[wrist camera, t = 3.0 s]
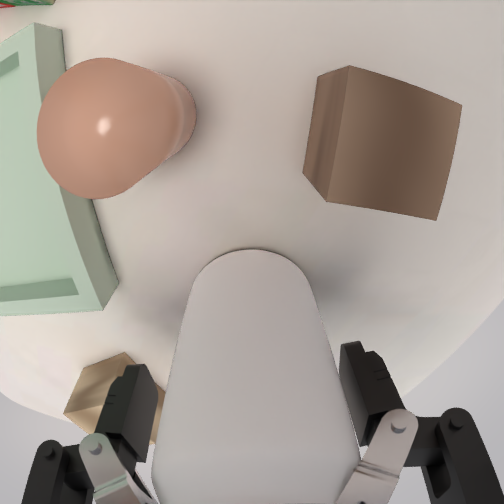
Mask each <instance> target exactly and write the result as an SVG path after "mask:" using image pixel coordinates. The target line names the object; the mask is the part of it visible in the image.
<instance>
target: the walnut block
mask: <svg viewBox="0 0 504 504" xmlns="http://www.w3.org/2000/svg"><path fill="white" fill-rule="evenodd" d="M461 110H462V105H461V104H459V103H456V102H454V101H452V100H449V99H447V98H445V97H442V96H440V95H438V94H435V93H433V92H430V91H427V90H425V89H422V88H420V87H417V86H414V85H411V84H409V83H406V82H403V81H400V80H397V79H394V78H391V77H388V76H385V75H382V74H378V73H375V72H372V71H368V70H365V69H361V68H357V67H354V66H350V65H349V66H346V67H343V68H340V69H337V70H335V71H332V72H329V73H326V74H323V75H321V76H318V78H317V85H316V92H315V98H314V105H313V112H312V118H311V125H310V131H309V137H308V143H307V150H306V156H305V162H304V168H303V174H304V175H305V176H306V178H307V179H308V180H309V181H310V182H311V184H312V185H313V186H314V187H315V188H316V190H317V191H318V192H319V193H320V195H321V196H322V197H323V198H324V200H325V201H326V202H332V203H338V204H345V205H351V206H357V207H363V208H370V209H375V210H381V211H387V212H393V213H398V214H404V215H409V216H414V217H419V218H425V219H430V220H435V221H436V220H437V217H438V213H439V210H440V206H441V203H442V199H443V196H444V192H445V188H446V184H447V180H448V176H449V172H450V168H451V163H452V159H453V154H454V149H455V144H456V139H457V134H458V128H459V123H460V117H461Z"/></svg>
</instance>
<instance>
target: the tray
mask: <svg viewBox="0 0 504 504" xmlns="http://www.w3.org/2000/svg"><path fill="white" fill-rule="evenodd" d="M65 72H66V70H65V61H64V51H63V40H62V30H60V29H57V28H53V27H50V26H46V25H42V24H38V23H32V24H30V25H29V26H27V27H25V28H24V29H22V30H20V31H19V32H17V33H15V34H14V35H12V36H11V37H9V38H8V39H6V40H5V41H3V42H2V43H0V316H16V315H38V314H56V313H73V312H88V311H101V310H104V308H105V306H106V305H107V303H108V301H109V299H110V298H111V296H112V294H113V293H114V291H115V289H116V288H117V286H118V284H119V282H118V280H117V277H116V274H115V271H114V269H113V266H112V263H111V260H110V257H109V254H108V251H107V248H106V245H105V242H104V239H103V236H102V233H101V230H100V227H99V223H98V220H97V217H96V213H95V210H94V206H93V203H92V199H88V198H83V197H79V196H76V195H74V194H72V193H70V192H68V191H67V190H65V189H63V188H62V187H61V186H60V185H59V184H57V183H56V181H55V180H54V179H53V178H52V177H51V176H50V174H49V173H48V171H47V170H46V168H45V166H44V164H43V162H42V159H41V157H40V153H39V149H38V144H37V121H38V116H39V112H40V108H41V105H42V103H43V100H44V98H45V96H46V94H47V93H48V91H49V89H50V88H51V86H52V85H53V84H54V82H55V81H56V80H57V79H58V78H59V77H60V76H61V75H62V74H63V73H65Z"/></svg>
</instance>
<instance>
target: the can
mask: <svg viewBox="0 0 504 504" xmlns="http://www.w3.org/2000/svg"><path fill="white" fill-rule="evenodd" d="M360 462H361V457H360V452H359V448H358V444H357V440H356V436H355V432H354V428H353V424H352V420H351V417H350V413H349V409H348V406H347V402H346V399H345V395H344V392H343V388H342V385H341V381H340V378H339V374H338V371H337V368H336V364H335V361H334V358H333V354H332V351H331V348H330V345H329V342H328V338H327V335H326V332H325V329H324V326H323V323H322V319H321V316H320V313H319V310H318V307H317V304H316V301H315V298H314V295H313V293H312V290H311V287H310V285H309V282H308V280H307V278H306V277H305V275H304V274H303V272H302V271H301V270H300V269H299V268H298V267H297V266H296V265H295V264H294V263H293V262H291V261H290V260H288V259H286V258H285V257H283V256H281V255H278V254H275V253H272V252H269V251H264V250H240V251H235V252H231V253H228V254H225V255H223V256H220V257H218V258H217V259H215V260H213V261H212V262H210V263H209V264H208V265H207V266H205V267H204V268H203V269H202V271H201V272H200V273H199V274H198V276H197V277H196V279H195V281H194V283H193V285H192V288H191V291H190V295H189V298H188V302H187V306H186V309H185V313H184V317H183V321H182V325H181V329H180V333H179V337H178V341H177V345H176V350H175V354H174V358H173V362H172V367H171V371H170V375H169V380H168V384H167V389H166V394H165V398H164V403H163V408H162V413H161V418H160V423H159V428H158V433H157V438H156V444H155V450H154V456H153V463H152V473H151V476H152V477H151V478H152V483H153V486H154V489H155V492H156V494H157V497H158V499H159V502H160V504H335V503H336V501H337V500H338V498H339V496H340V495H341V493H342V491H343V490H344V488H345V486H346V485H347V483H348V481H349V480H350V478H351V476H352V474H353V473H354V471H355V469H356V467H357V466H358V464H360Z"/></svg>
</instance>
